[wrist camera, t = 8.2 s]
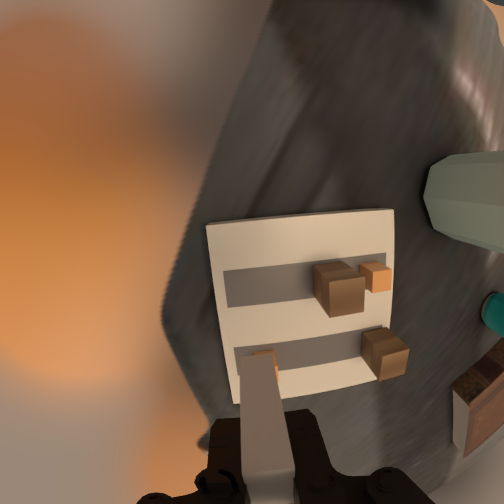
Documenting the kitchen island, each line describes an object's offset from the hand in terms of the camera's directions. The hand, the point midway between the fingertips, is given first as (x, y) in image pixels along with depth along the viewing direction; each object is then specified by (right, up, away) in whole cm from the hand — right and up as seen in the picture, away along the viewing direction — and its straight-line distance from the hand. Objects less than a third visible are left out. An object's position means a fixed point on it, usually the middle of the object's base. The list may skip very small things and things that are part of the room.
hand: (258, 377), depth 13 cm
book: (+51, -20, +24) cm, 60 cm away
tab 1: (+7, +3, +13) cm, 15 cm away
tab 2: (+13, -4, +15) cm, 20 cm away
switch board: (+5, 0, +17) cm, 18 cm away
